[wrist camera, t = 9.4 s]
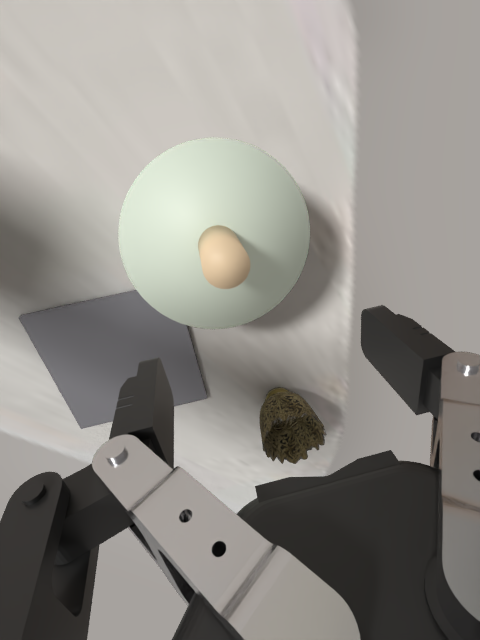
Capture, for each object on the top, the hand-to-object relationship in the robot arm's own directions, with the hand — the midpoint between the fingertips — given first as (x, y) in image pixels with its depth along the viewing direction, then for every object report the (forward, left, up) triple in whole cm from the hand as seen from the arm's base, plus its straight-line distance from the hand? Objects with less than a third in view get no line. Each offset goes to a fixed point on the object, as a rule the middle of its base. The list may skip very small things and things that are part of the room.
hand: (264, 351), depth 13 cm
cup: (+24, +4, -24) cm, 34 cm away
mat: (+13, -13, -23) cm, 30 cm away
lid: (0, 0, -17) cm, 17 cm away
